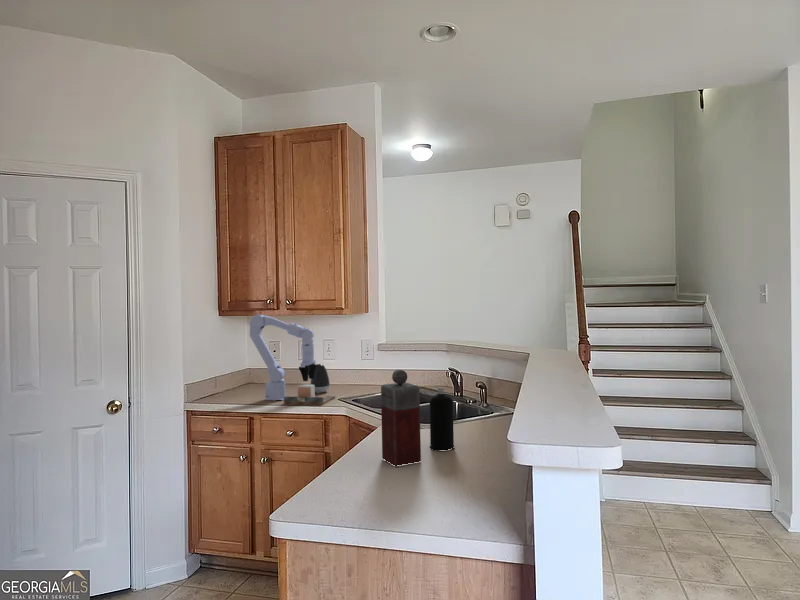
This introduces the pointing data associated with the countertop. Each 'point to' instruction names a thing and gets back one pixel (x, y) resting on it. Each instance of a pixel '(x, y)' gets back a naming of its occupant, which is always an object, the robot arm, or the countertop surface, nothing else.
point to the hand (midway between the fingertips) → (308, 379)
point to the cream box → (306, 390)
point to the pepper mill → (400, 421)
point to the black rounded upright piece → (320, 379)
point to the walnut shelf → (308, 400)
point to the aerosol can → (441, 421)
